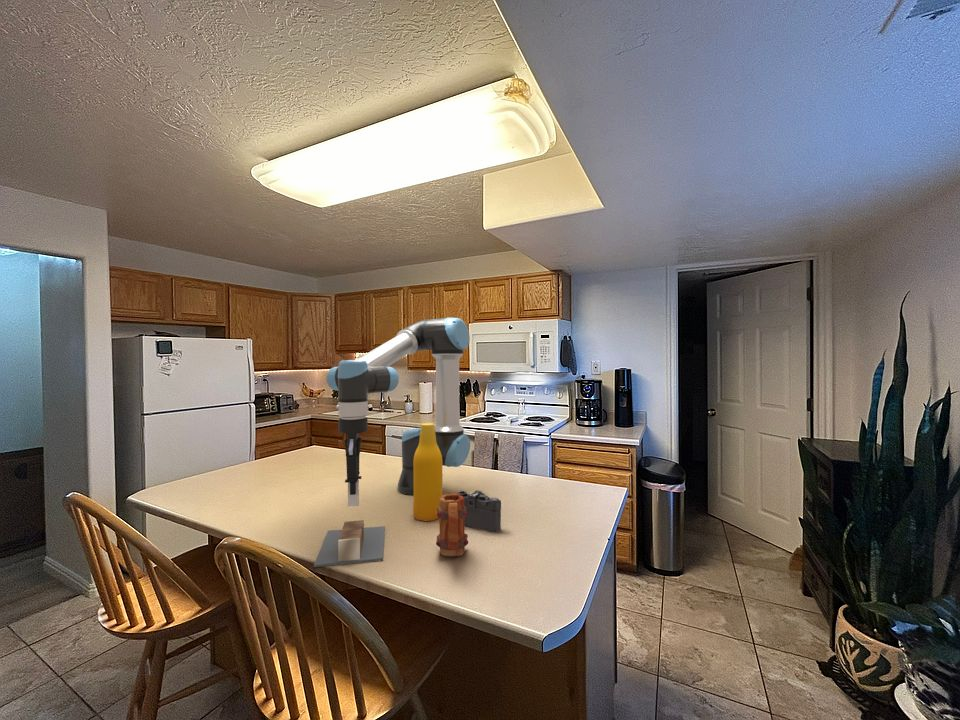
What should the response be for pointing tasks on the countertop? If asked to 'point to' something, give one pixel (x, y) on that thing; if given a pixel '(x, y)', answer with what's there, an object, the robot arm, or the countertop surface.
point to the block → (351, 541)
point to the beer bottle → (427, 475)
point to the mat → (369, 553)
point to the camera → (482, 511)
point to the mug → (452, 525)
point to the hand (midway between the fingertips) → (353, 505)
